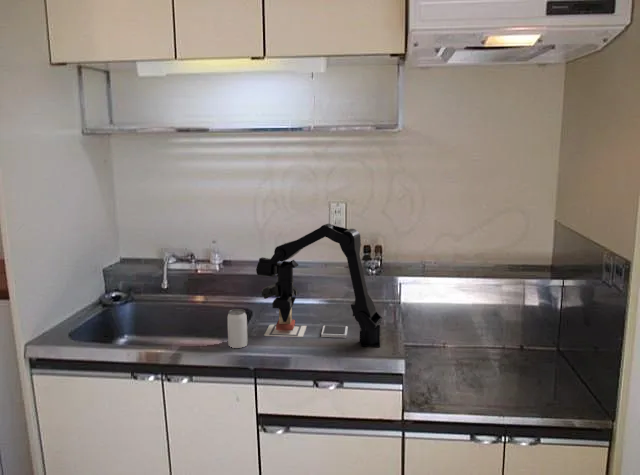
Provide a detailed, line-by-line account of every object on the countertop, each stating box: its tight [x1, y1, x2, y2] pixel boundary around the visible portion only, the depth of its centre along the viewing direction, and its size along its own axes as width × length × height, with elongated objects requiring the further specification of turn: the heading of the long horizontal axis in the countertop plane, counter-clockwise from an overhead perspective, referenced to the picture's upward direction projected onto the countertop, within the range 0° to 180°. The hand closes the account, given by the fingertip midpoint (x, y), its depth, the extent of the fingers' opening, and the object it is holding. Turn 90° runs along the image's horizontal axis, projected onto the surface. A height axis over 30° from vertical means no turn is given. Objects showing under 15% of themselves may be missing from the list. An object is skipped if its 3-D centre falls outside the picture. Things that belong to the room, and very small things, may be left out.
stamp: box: [275, 303, 296, 330], centre depth 188 cm, size 6×6×9 cm
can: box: [226, 308, 248, 349], centre depth 174 cm, size 6×6×12 cm
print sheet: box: [263, 324, 307, 338], centre depth 189 cm, size 14×11×1 cm
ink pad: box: [320, 325, 349, 339], centre depth 187 cm, size 9×9×1 cm
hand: (285, 319), depth 188 cm, fingers closed on stamp, 4 cm apart
